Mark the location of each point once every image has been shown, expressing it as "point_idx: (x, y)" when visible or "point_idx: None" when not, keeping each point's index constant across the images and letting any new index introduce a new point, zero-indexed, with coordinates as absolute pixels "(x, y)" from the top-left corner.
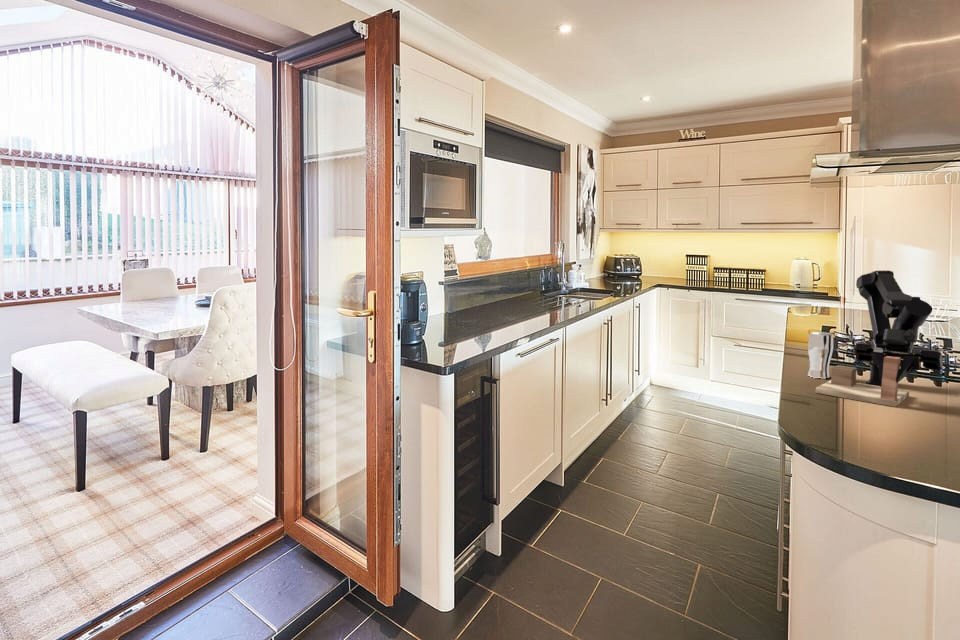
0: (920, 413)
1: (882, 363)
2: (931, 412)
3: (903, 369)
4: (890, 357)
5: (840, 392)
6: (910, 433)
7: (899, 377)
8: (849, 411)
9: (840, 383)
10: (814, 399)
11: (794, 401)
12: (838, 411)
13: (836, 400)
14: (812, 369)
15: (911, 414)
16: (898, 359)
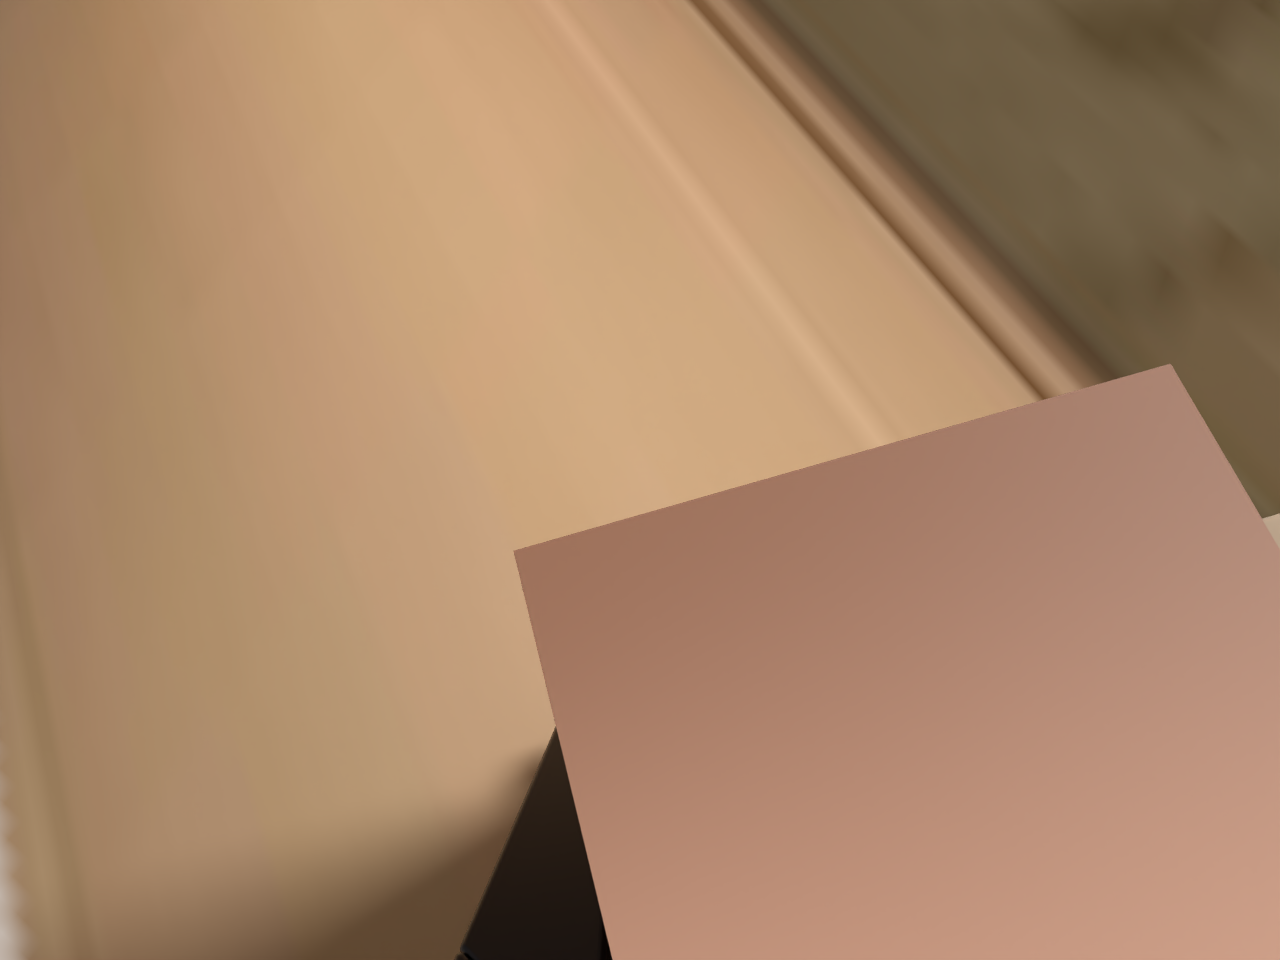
0: (310, 729)
1: None
2: (240, 925)
3: (489, 943)
4: (1094, 778)
5: (1269, 521)
6: (152, 25)
7: (549, 744)
8: (748, 140)
9: None
10: (1229, 216)
11: (1215, 3)
12: (793, 62)
13: None
14: None
15: (357, 582)
16: (562, 726)
